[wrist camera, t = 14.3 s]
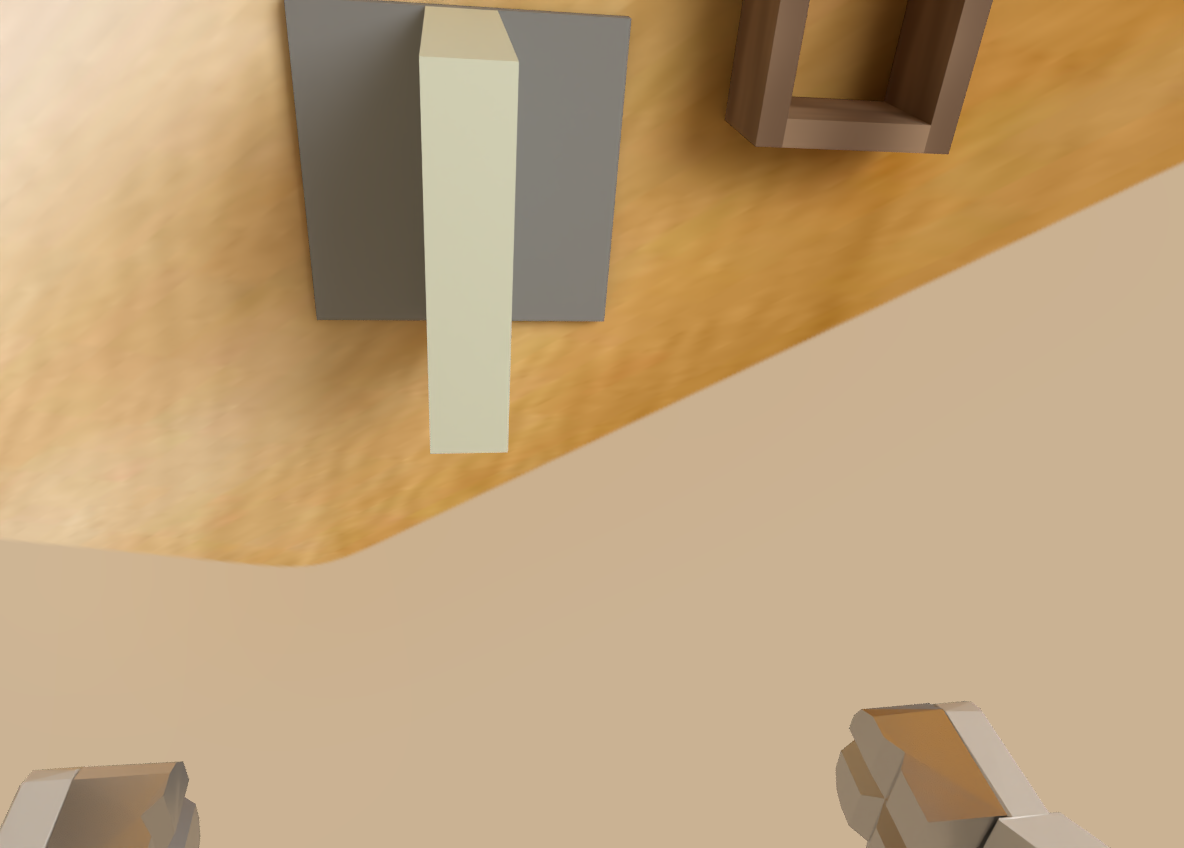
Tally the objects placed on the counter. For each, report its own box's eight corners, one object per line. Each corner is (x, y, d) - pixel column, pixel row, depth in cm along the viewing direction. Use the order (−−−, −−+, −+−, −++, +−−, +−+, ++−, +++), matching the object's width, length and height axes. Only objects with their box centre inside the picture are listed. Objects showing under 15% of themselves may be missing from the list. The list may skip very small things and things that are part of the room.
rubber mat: (318, 313, 36) (317, 319, 35) (286, -6, 30) (283, -4, 29) (601, 315, 38) (603, 321, 37) (628, 16, 32) (631, 18, 31)
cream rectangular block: (433, 320, 36) (430, 453, 28) (425, 5, 30) (419, 56, 22) (492, 320, 37) (507, 452, 28) (497, 10, 30) (519, 61, 22)
